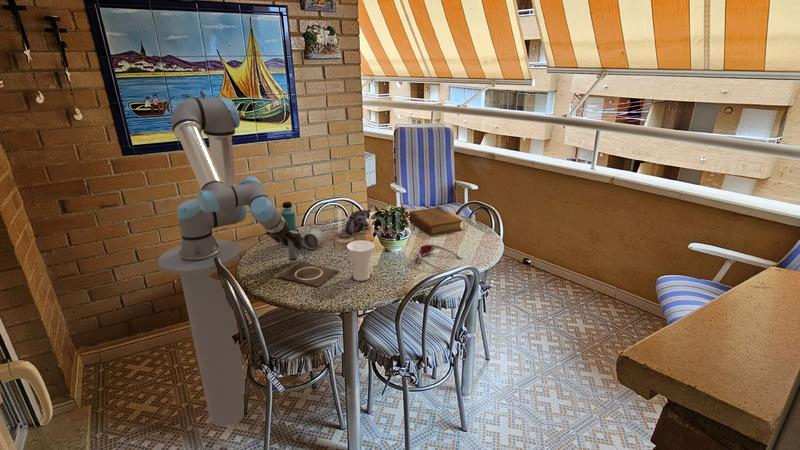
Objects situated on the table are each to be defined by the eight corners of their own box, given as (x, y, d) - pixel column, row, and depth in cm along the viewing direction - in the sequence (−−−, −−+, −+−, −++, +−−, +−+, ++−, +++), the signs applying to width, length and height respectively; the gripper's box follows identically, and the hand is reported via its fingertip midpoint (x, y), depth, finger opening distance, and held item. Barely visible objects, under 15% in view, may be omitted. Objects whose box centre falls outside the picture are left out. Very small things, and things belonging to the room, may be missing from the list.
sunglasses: (425, 249, 185) (428, 239, 183) (460, 262, 179) (462, 253, 177) (408, 263, 171) (410, 253, 169) (445, 279, 165) (447, 268, 163)
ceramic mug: (325, 243, 192) (323, 227, 189) (318, 250, 184) (317, 234, 182) (304, 241, 194) (302, 226, 191) (296, 248, 186) (295, 232, 184)
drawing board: (279, 277, 160) (278, 276, 159) (301, 263, 172) (301, 262, 171) (317, 287, 153) (317, 285, 152) (337, 271, 165) (337, 270, 164)
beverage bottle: (289, 239, 196) (285, 199, 189) (300, 241, 193) (297, 201, 186) (280, 244, 191) (276, 203, 184) (291, 246, 188) (287, 205, 181)
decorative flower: (343, 207, 211) (370, 201, 208) (351, 225, 217) (378, 218, 214) (338, 224, 199) (366, 217, 196) (347, 242, 206) (375, 236, 202)
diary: (408, 221, 220) (408, 211, 218) (438, 216, 228) (438, 206, 226) (430, 236, 201) (430, 225, 199) (461, 230, 209) (462, 219, 207)
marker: (287, 259, 171) (284, 233, 166) (292, 256, 173) (290, 230, 169) (293, 261, 169) (291, 234, 165) (299, 258, 172) (296, 231, 168)
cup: (360, 268, 167) (359, 238, 163) (380, 275, 162) (379, 244, 157) (342, 278, 159) (341, 246, 155) (363, 286, 154) (362, 253, 149)
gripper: (252, 232, 152) (275, 254, 173) (294, 235, 150) (312, 256, 171) (257, 214, 155) (279, 237, 176) (298, 216, 153) (316, 240, 174)
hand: (295, 247), depth 174 cm, fingers closed on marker, 3 cm apart
